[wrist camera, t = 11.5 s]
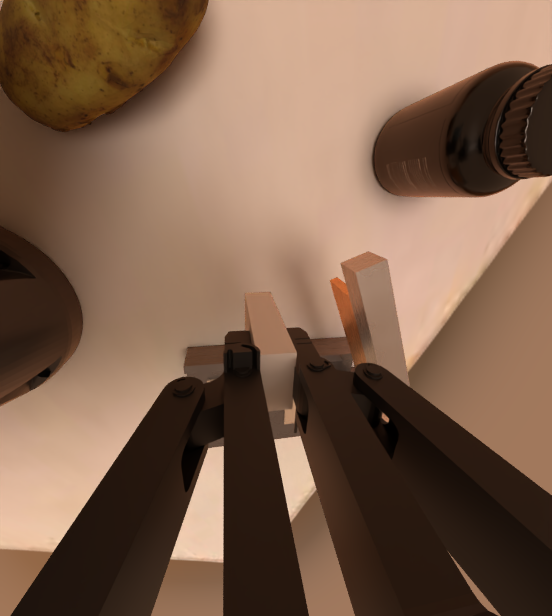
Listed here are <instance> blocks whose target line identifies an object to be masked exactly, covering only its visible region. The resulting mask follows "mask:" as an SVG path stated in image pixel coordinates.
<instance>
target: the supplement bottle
mask: <svg viewBox="0 0 552 616" xmlns="http://www.w3.org/2000/svg"><path fill="white" fill-rule="evenodd" d="M374 164H375V170H376V174H377V177H378V179H379V181H380V183H381V184H382V185H383V187H384V188H385V189H386V190H388V191H389V192H391V193H393V194H395V195H398V196H407V197H485V196H490V195H494V194H496V193H499V192H501V191H503V190H505V189H507V188H509V187H510V186H512V185H513V184H515V183H516V182H518V181H519V180H520V179H528V178H532V177H547V176H551V175H552V64H551V65H546V66H543V67H541V68H539V67H537V66H535V65H533V64H531V63H527V62H522V61H509V62H504V63H500V64H497V65H495V66H492V67H490V68H488V69H485V70H483V71H481V72H479V73H477V74H475V75H473V76H470V77H468V78H466V79H464V80H462V81H460V82H458V83H456V84H454V85H451V86H449V87H447V88H445V89H443V90H441V91H439V92H437V93H435V94H432V95H430V96H428V97H426V98H424V99H422V100H420V101H418V102H416V103H413V104H411V105H410V106H407V107H405V108H404V109H402V110H400V111H399V112H398V113H396V114H395V115H394V116H393V117H392V118H391V119H390V120H389V121H388V122H387V124H386V125H385V126H384V128H383V130H382V131H381V133H380V136H379V138H378V141H377V144H376V148H375V155H374Z"/></svg>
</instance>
